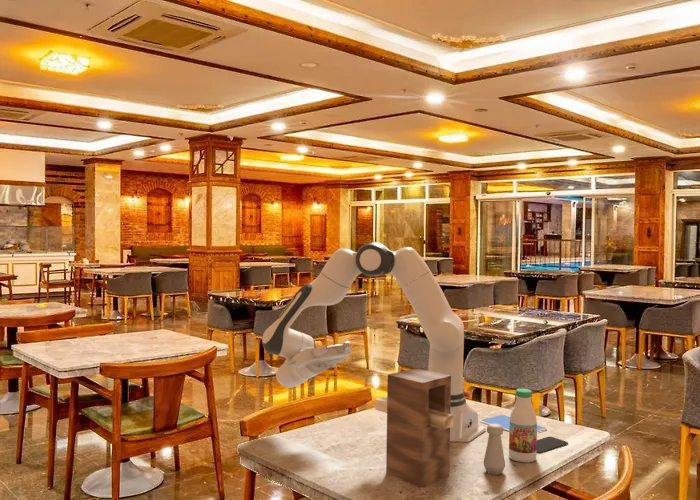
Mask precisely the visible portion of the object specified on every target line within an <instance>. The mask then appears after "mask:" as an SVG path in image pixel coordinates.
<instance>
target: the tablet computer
mask: <svg viewBox="0 0 700 500" xmlns="http://www.w3.org/2000/svg"><path fill="white" fill-rule="evenodd" d="M480 422H481V424H483V425H487V426H488V425H489V424H499V425H501V426H502V427H503V431H506V430H507V431H506V432H509V427H510V416H507V415H505V414H504V415H503V414H500V415H495V416H492V417H487V418H483V419H480V420H479V423H480ZM544 430H546V431H547V430H548V429H547V427H546V426H542V425H538V424H537V432H540V431H543V432H545V431H544ZM540 433H541V432H540Z"/></svg>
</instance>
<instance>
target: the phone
mask: <svg viewBox="0 0 700 500" xmlns="http://www.w3.org/2000/svg"><path fill="white" fill-rule="evenodd" d="M566 444H568V445H569V442H568V441H566V440H564V439H559V438H556V437H554V436H546V437H544V438H543V437H542V438H539V439H537V452H536V454H543V452H544V453H546V452H549V450H550V451H552V449H553V450H556V449H559V448H558V447H560V448H562V447H561V446H563V445H566ZM566 446H567V445H566ZM563 447H564V446H563ZM555 448H556V449H555Z"/></svg>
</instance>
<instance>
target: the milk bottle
mask: <svg viewBox="0 0 700 500" xmlns="http://www.w3.org/2000/svg"><path fill="white" fill-rule="evenodd" d="M515 398H516V399H515V404H514V406H513V408H512V410H511V412H510V416H509V417H510V427H509V431H508V432H509V434H508V435H509V436H508V456H509V458H510V459H511V460H513V461H516V462H518V463H533V462H535V461H536V460H537V453H536V452H537V440H538V433H537V425H538V421H537V414H536V410H534V407H533V403H532V399H533V391H532V390H531V389H528V388H517V389H515Z"/></svg>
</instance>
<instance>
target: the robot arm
mask: <svg viewBox="0 0 700 500" xmlns="http://www.w3.org/2000/svg"><path fill="white" fill-rule="evenodd" d="M360 274H363V275H365V276H368V277H379V276H382V275H386V274H389V275H392V276H393V277H394V279H395V280H396V282H397V283H398V284H399V287H400V288H401V291H402V292H403V294H404V295H405V297H406V299H407V301H408V302H409V304H410V306H411V307H412V309H413V311H414V314H415V315H416V317H417V320H418V322H419V324H420V326H421V329H422V330H423V332H424V335H425V336H426V339H427V340H428V342H429V355H428V366H427V367H428V370H427V371H432V372H436V373H441V374H446V375H450V376H451V402H450V414H451V415H453V427H450V442H463V443H467V442H468V443H469V442H471V441H472V440H474V439H475V438H476V437H478V436H480V435H481V434H482V433H484V432H485V431H487V428H486V427H485V426H484V425H482V424H480V423H479V416H478V412H477V411H476V410H475V409H474V408H473V407H472V406H470V404H468V403H467V400H466V398H470V397H471V392H470V391H469V390H468V391H467V390H463V388H464V385H463V384H464V383H463V382H464V350H465V347H464V346H465V345H464V344H465V326H464V322H463V320H462V318H461V317H459V316H458V315H457V314H456V313H454V311H453V309H452V308H451V306H450V304H449V301H448V300H447V297H446V296H445V293H444V291H443V290H442V288H441V286H440V284H439V283H438V281H437V279H436V278H435V276H434V274H433V272H432V271H431V268H429V266H428V265H427V263H426V262H425V260H424V259H423V258H422V256H421V255H420V254H419V253H418V252H417V250H415V248H413V247H410V246H405V247H401V248H399V249H397V250H392V249H390V247H389V246H387V245H386V244H383V243H381V242H377V241H376V242H375V241H374V242H373V241H372V242H368V243H365V244H363V245H361V246H360V247H359V248H358V249H357V251H354V250H352V249H349V248H343V247H342V248H338V249H336V250H335V251H334V252H333V254H332V255H331V256H330V257H329V258H328V260H327V261H326V263H325V265H324V266H323V267H322V270H321V271H320V272H319V274H318V276H317V277H316V278H315V279H314V280H312V282H310V283H307V284H304V285H302V286H301V287H300V288H299V289H298V290H297V291H296V293H294V295H293V297H292V298H290V300H289V302H288V303H287V304H286V305H285V306H284V308H283V309H282V310H281V312H280V313H279V314H278V315H277V317H276V318H275V319H274V321H273V322H271V324H269V325H268V326H267V327H266V329H265V330H264V331H263V333H262V336H261V344H262V347H263V349H264V351H265V352H266V353H267V354H270V355H274V356H280V357H282V358H284V362H283V364H282V365H281V366H279V368H278V369H276V371H275V378H276V380H277V382H278V383H279V384H280V385H281V386H282V387H284V388H290V389H291V388H294V387H297V386H300V385H302V384H303V383H305V382H307V380H309V379H312V378H314V377H316V376H318V375H320V374H321V373H323V372H324V371H325V372H326V371H328V370H330V369H333V368H335V367H336V366H337V364H339V363H340V362H342V361H344V360H345V359H346V358H348V357H350V356H351V353H352V350H351V343H350V341H345V342H343V343H340V344H334V345H327V344H326V345H321V346H320V347H317V344H316V341H315V339H314V338H313V337H312V335H309V334H306V333H304V332H301V331H297V330H295V329H292V328H290V327H291V326H292V324H293V323H294V322H295V320H297V317H298V316H300V314H301V312H303V310H305V309H307V308H309V307H313V306H333V305H337V304H339V303H341V302H342V301H343V299H344V298H345V297H346V296H347V294H348V292H349V290H350V288H351V287H352V285H353V283H354V281H355V280H356V279H357V278H358V276H359V275H360Z"/></svg>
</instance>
